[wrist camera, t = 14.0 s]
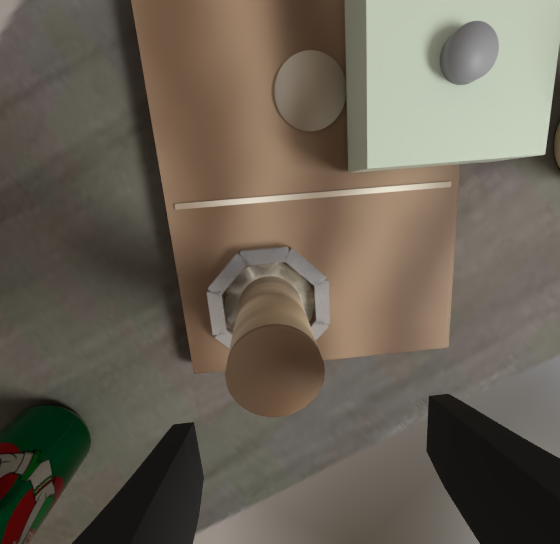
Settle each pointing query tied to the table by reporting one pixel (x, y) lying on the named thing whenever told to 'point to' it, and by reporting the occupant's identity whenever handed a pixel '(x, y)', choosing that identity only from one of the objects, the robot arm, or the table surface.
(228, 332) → the socket ring
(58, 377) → the table surface
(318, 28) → the board
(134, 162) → the table surface
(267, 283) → the peg
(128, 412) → the table surface
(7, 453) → the soda can
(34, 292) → the table surface
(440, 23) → the cover
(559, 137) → the candle
